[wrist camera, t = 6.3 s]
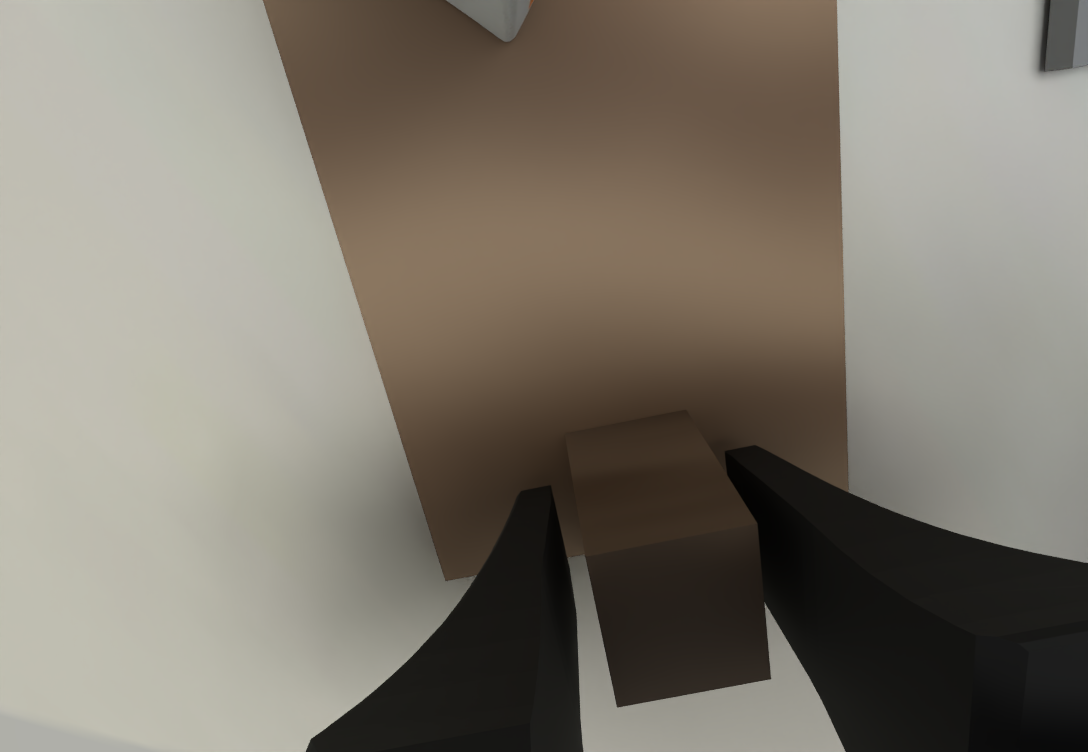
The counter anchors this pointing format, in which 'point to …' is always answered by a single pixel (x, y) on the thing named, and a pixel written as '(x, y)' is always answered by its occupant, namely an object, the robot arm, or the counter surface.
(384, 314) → the walnut strip
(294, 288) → the counter surface
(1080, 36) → the charcoal strip
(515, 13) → the skincare box
